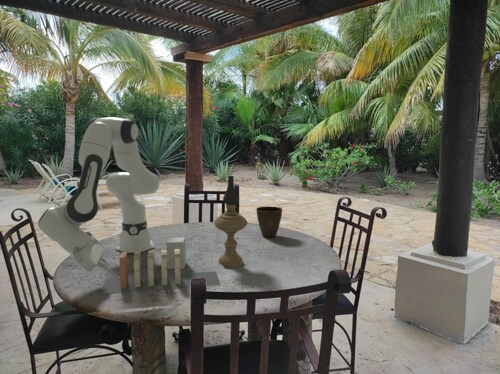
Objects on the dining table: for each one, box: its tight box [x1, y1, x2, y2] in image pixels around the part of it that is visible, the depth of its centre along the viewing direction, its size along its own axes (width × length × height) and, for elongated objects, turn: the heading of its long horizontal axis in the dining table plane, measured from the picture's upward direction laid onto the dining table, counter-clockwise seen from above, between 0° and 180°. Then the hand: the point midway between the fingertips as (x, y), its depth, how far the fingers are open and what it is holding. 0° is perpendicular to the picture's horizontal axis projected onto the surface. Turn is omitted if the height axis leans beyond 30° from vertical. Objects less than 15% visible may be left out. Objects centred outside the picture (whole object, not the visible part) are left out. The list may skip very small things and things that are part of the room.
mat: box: [98, 270, 221, 295], centre depth 142 cm, size 14×44×1 cm, turn 103°
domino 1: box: [118, 251, 129, 288], centre depth 138 cm, size 6×2×12 cm, turn 12°
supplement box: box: [165, 237, 187, 270], centre depth 159 cm, size 7×7×13 cm
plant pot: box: [255, 206, 283, 239], centre depth 209 cm, size 15×15×16 cm
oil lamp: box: [213, 175, 248, 269], centre depth 162 cm, size 15×15×40 cm
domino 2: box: [133, 251, 142, 287], centre depth 139 cm, size 6×2×12 cm, turn 12°
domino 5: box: [174, 249, 181, 284], centre depth 142 cm, size 6×2×12 cm, turn 13°
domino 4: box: [160, 249, 168, 285], centre depth 141 cm, size 6×2×12 cm, turn 13°
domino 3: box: [147, 249, 155, 286], centre depth 140 cm, size 6×2×12 cm, turn 12°
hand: (108, 267), depth 137 cm, fingers closed
